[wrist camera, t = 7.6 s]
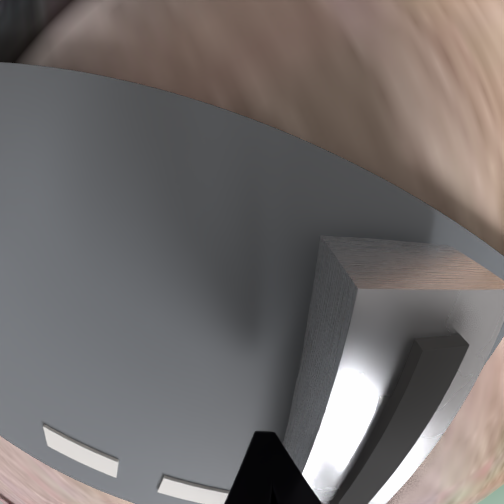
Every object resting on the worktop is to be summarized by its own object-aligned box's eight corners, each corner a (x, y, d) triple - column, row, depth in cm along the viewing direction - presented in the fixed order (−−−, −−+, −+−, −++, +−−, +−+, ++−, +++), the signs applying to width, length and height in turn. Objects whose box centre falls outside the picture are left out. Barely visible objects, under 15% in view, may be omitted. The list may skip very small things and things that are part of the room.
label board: (520, 272, 10) (536, 282, 8) (296, 521, 17) (297, 533, 15) (-9, 63, 7) (-28, 60, 6) (-2, 422, 14) (-8, 432, 13)
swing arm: (322, 519, 14) (327, 560, 10) (261, 523, 14) (261, 565, 10) (449, 245, 8) (526, 296, 4) (320, 234, 7) (366, 300, 4)
